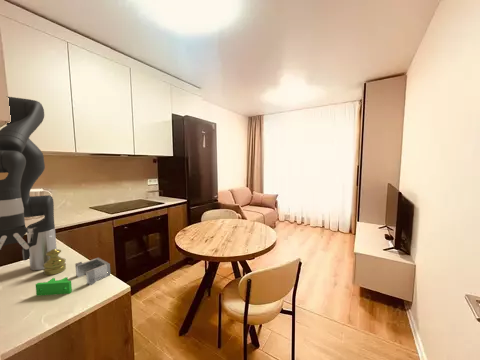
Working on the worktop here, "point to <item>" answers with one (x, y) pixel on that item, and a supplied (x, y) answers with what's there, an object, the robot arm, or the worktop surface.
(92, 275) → the grey u-shaped bracket
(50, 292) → the pipe clamp
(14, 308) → the worktop surface
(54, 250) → the gold twisted vase
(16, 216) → the robot arm
